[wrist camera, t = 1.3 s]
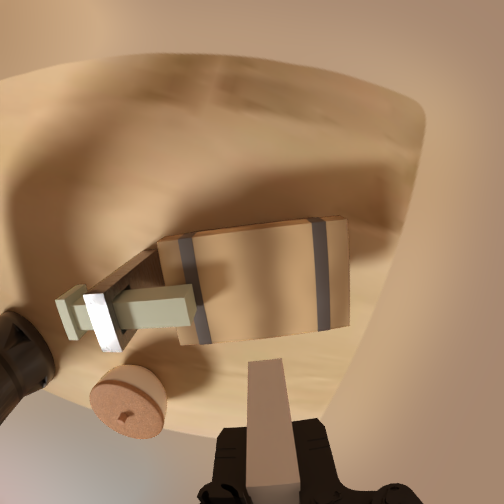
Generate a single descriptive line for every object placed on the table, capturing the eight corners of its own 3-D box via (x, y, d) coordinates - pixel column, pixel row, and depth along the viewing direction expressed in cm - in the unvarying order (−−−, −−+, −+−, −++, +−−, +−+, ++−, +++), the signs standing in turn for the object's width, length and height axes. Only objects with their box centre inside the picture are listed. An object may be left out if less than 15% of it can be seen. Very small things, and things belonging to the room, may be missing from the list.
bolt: (87, 321, 26) (68, 340, 22) (76, 284, 25) (54, 300, 21) (199, 315, 25) (191, 337, 21) (191, 272, 24) (180, 290, 20)
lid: (187, 327, 30) (180, 345, 26) (168, 234, 27) (156, 242, 24) (339, 309, 29) (349, 326, 26) (335, 213, 27) (347, 218, 23)
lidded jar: (183, 371, 38) (169, 417, 29) (164, 414, 40) (151, 456, 31) (115, 340, 37) (87, 378, 28) (105, 387, 39) (82, 424, 30)
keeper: (151, 290, 35) (102, 351, 21) (142, 250, 34) (82, 294, 20) (166, 289, 35) (122, 352, 21) (157, 248, 34) (103, 293, 20)
